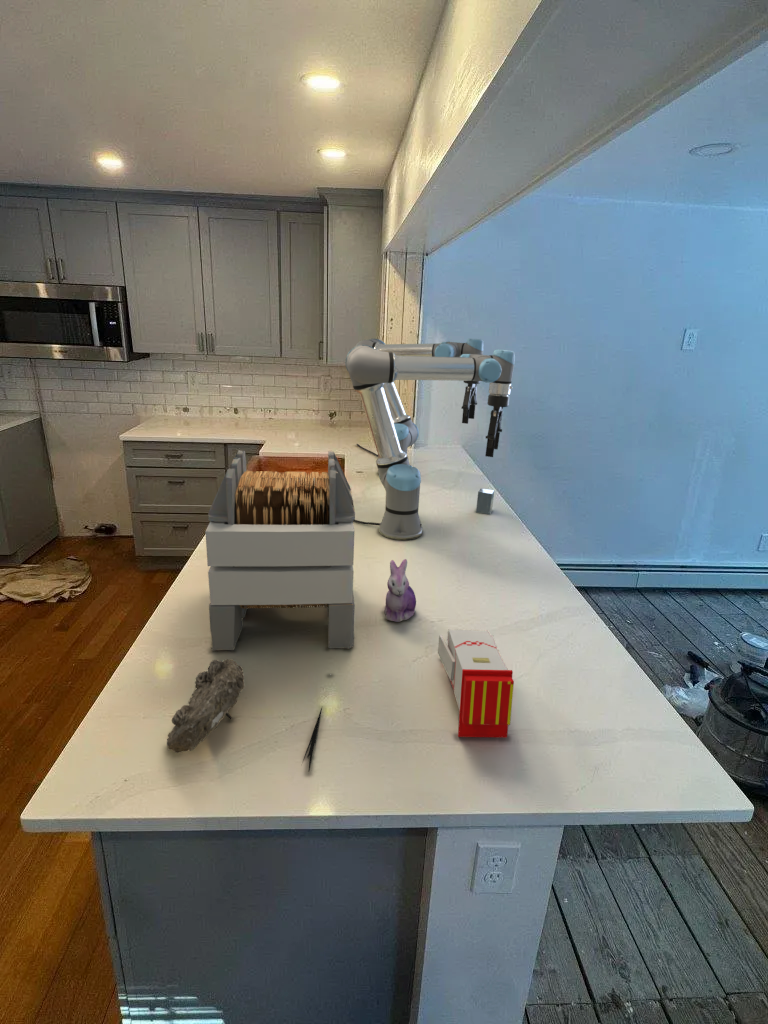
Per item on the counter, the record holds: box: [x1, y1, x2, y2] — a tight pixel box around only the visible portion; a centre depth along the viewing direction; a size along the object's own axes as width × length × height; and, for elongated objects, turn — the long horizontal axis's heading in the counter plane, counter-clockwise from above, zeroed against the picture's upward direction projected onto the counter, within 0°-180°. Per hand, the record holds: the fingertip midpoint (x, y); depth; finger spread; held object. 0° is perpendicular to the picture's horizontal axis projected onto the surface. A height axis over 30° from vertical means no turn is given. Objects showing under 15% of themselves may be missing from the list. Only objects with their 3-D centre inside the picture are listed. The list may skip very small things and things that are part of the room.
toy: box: [437, 628, 515, 738], centre depth 117 cm, size 12×13×30 cm
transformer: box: [204, 449, 356, 652], centre depth 138 cm, size 34×33×41 cm
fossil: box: [166, 658, 245, 754], centre depth 106 cm, size 22×10×15 cm
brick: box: [475, 488, 495, 515], centre depth 225 cm, size 5×6×9 cm
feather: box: [301, 673, 332, 771], centre depth 108 cm, size 2×28×2 cm
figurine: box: [384, 558, 417, 623], centre depth 145 cm, size 9×10×15 cm
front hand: (491, 452), depth 210 cm, fingers open, 13 cm apart
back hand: (468, 420), depth 264 cm, fingers open, 13 cm apart
